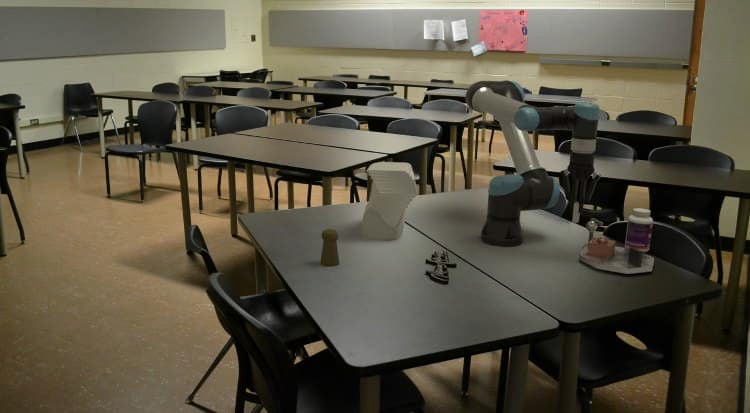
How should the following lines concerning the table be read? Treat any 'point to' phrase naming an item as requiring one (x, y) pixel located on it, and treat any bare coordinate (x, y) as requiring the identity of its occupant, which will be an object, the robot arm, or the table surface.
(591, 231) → the dial stand
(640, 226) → the pill bottle
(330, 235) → the cork
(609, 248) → the pink gift box
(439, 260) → the black irregular piece
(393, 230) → the paper stack
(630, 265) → the turntable
